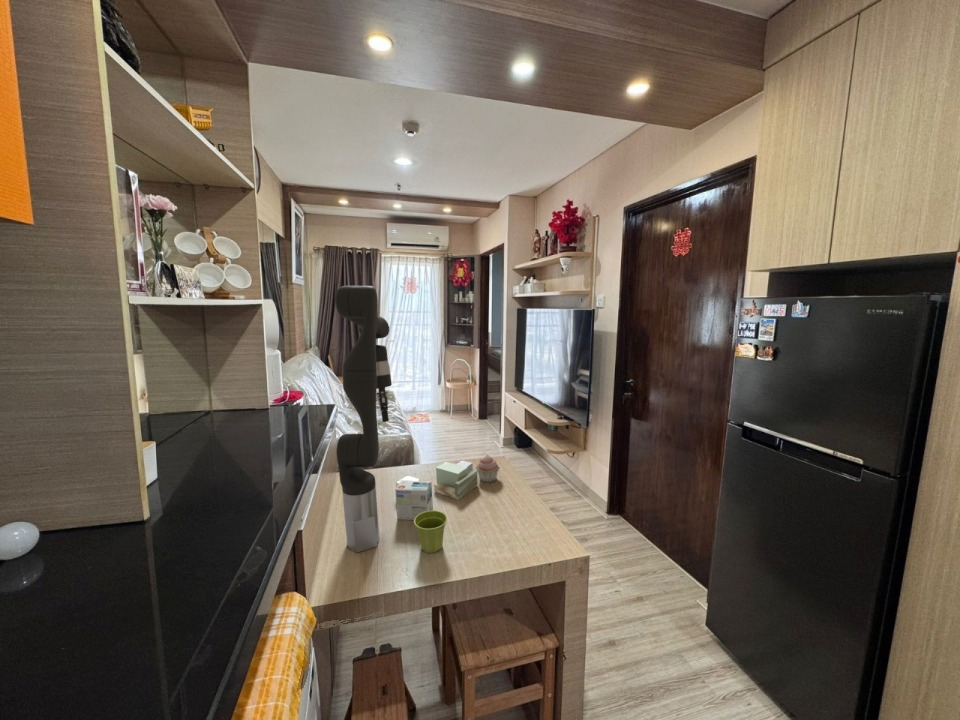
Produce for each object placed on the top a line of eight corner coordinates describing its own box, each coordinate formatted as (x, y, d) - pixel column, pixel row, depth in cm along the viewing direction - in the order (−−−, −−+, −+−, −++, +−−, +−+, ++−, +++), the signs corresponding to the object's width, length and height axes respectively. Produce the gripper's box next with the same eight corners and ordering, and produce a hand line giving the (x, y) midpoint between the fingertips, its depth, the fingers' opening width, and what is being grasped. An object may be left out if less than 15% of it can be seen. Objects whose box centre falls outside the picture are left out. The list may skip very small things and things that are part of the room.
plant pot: (418, 536, 120) (417, 510, 118) (449, 536, 120) (448, 510, 118) (412, 557, 111) (410, 529, 109) (446, 557, 110) (445, 529, 109)
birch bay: (477, 485, 150) (477, 470, 149) (458, 500, 140) (458, 484, 139) (453, 478, 156) (453, 464, 154) (434, 491, 146) (433, 476, 145)
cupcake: (493, 471, 161) (492, 448, 159) (504, 481, 153) (503, 456, 151) (471, 476, 157) (471, 452, 155) (482, 486, 149) (481, 461, 147)
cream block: (420, 495, 144) (420, 479, 143) (409, 502, 139) (408, 486, 138) (408, 490, 147) (407, 475, 146) (396, 497, 142) (395, 482, 141)
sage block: (468, 487, 149) (467, 467, 147) (458, 494, 144) (458, 473, 142) (446, 480, 154) (445, 461, 153) (436, 487, 149) (436, 467, 148)
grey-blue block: (472, 474, 159) (472, 463, 158) (465, 479, 155) (465, 467, 154) (462, 471, 161) (462, 460, 160) (455, 476, 157) (454, 465, 156)
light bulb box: (433, 509, 134) (432, 480, 132) (429, 521, 128) (427, 490, 126) (402, 508, 135) (400, 479, 133) (396, 520, 129) (394, 489, 127)
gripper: (391, 373, 139) (397, 422, 139) (389, 372, 152) (395, 417, 152) (369, 376, 137) (375, 425, 137) (369, 375, 150) (374, 420, 150)
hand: (385, 421), depth 145 cm, fingers closed
